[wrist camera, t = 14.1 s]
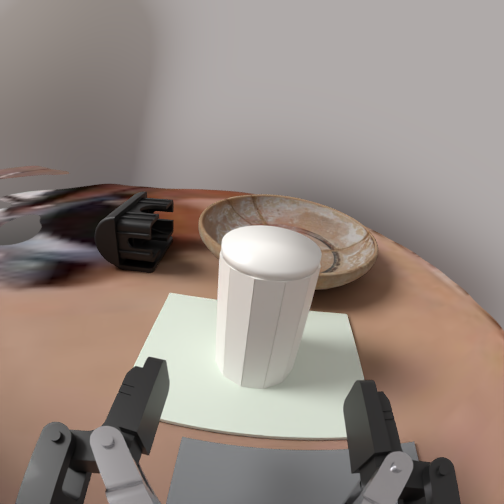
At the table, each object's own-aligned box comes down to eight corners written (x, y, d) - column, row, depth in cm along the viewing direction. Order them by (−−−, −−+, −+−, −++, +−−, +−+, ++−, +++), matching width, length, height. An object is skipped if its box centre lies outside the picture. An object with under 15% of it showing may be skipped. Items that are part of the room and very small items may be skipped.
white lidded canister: (210, 382, 19) (213, 263, 15) (222, 329, 25) (229, 221, 20) (292, 391, 19) (328, 277, 15) (290, 336, 25) (314, 231, 20)
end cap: (129, 234, 40) (126, 190, 37) (174, 238, 40) (174, 192, 37) (98, 268, 32) (90, 215, 28) (151, 276, 32) (147, 220, 28)
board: (117, 409, 16) (115, 406, 16) (170, 296, 29) (170, 292, 29) (374, 437, 16) (376, 435, 16) (345, 317, 28) (346, 314, 28)
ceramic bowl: (161, 275, 32) (159, 235, 30) (237, 212, 52) (240, 186, 50) (369, 335, 26) (386, 294, 24) (367, 243, 46) (374, 215, 44)
